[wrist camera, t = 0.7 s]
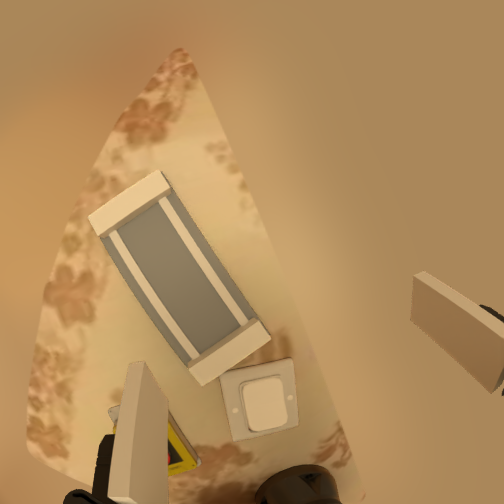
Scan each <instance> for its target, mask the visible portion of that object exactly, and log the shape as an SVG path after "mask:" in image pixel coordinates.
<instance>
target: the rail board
mask: <svg viewBox="0 0 504 504" xmlns="http://www.w3.org/2000/svg"><path fill="white" fill-rule="evenodd" d="M88 219H89V221H90V222H91V224H92V226H93V228H94V230H95V232H96V234H97V235H98V236H99V237H100V239H101V241H102V242H103V244H104V246H105V248H106V249H107V251H108V253H109V255H110V256H111V258H112V260H113V261H114V263H115V265H116V266H117V268H118V270H119V271H120V273H121V274H122V276H123V278H124V279H125V281H126V282H127V284H128V286H129V287H130V289H131V290H132V292H133V293H134V295H135V296H136V298H137V299H138V301H139V302H140V304H141V305H142V307H143V308H144V310H145V311H146V313H147V314H148V316H149V317H150V318H151V320H152V321H153V323H154V324H155V326H156V327H157V328H158V330H159V331H160V332H161V334H162V335H163V337H164V338H165V339H166V341H167V342H168V343H169V345H170V346H171V347H172V349H173V350H174V351H175V353H176V354H177V355H178V356H179V358H180V359H181V360H182V362H183V363H184V364H185V365H186V367H187V368H188V371H189V372H190V373H191V374H192V376H193V377H194V378H195V379H196V380H197V382H198V383H199V384H200V385H201V386H202V387H203V386H204V385H206V384H207V383H209V382H210V381H212V380H213V379H215V378H216V377H218V376H219V375H221V374H222V373H224V372H225V371H227V370H228V369H230V368H231V367H233V366H234V365H236V364H237V363H239V362H240V361H241V360H243V359H244V358H246V357H247V356H249V355H250V354H251V353H253V352H254V351H256V350H257V349H258V348H260V347H261V346H263V345H264V344H265V343H267V342H268V341H269V340H271V337H270V336H269V335H270V333H269V332H268V331H267V329H266V328H265V326H264V325H263V324H262V322H261V321H260V319H259V318H258V316H257V315H256V313H255V312H254V311H253V309H252V308H251V306H250V305H249V303H248V302H247V300H246V299H245V298H244V296H243V295H242V293H241V292H240V290H239V289H238V287H237V286H236V284H235V283H234V281H233V280H232V278H231V277H230V276H229V274H228V273H227V271H226V270H225V268H224V267H223V265H222V264H221V262H220V261H219V259H218V258H217V256H216V255H215V253H214V252H213V250H212V249H211V247H210V246H209V244H208V243H207V241H206V240H205V238H204V237H203V235H202V233H201V232H200V230H199V229H198V227H197V226H196V224H195V223H194V221H193V220H192V218H191V217H190V215H189V213H188V212H187V210H186V209H185V207H184V206H183V204H182V203H181V201H180V199H179V198H178V196H177V195H176V193H175V192H174V190H173V188H172V187H171V185H170V184H169V182H168V181H167V179H166V177H165V176H164V174H163V173H162V172H160V170H159V169H157V170H156V171H154V172H153V173H151V174H149V175H148V176H146V177H145V178H143V179H141V180H140V181H138V182H137V183H135V184H134V185H132V186H131V187H129V188H128V189H126V190H125V191H123V192H122V193H120V194H119V195H117V196H116V197H114V198H113V199H111V200H110V201H108V202H107V203H106V204H104V205H103V206H101V207H100V208H99V209H97V210H96V211H94V212H93V213H92V214H90V215H89V216H88Z"/></svg>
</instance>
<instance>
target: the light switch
mask: <svg viewBox="0 0 504 504" xmlns="http://www.w3.org/2000/svg"><path fill="white" fill-rule="evenodd" d="M219 380H220V385H221V390H222V395H223V400H224V404H225V409H226V414H227V418H228V423H229V427H230V432H231V436H232V440H233V442H237V441H242V440H247V439H251V438H256V437H260V436H264V435H268V434H272V433H276V432H280V431H284V430H287V429H291V428H294V427H298V426H299V416H298V404H297V393H296V382H295V371H294V363H293V360H292V358H286V359H282V360H277V361H273V362H269V363H264V364H259V365H255V366H250V367H245V368H240V369H234V370H229V371H225V372H224V373H222V374H221V375H219ZM248 427H249V428H250V430H249V429H248Z"/></svg>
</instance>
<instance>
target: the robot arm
mask: <svg viewBox="0 0 504 504" xmlns="http://www.w3.org/2000/svg"><path fill="white" fill-rule="evenodd" d="M410 320H411V321H412V322H413V323H414V324H415V325H417V326H418V327H419V328H420V329H421V330H422V331H423V332H425V333H426V334H427V335H428V336H429V337H430V338H431V339H432V340H434V341H435V342H436V343H437V344H438V345H439V346H440V347H442V348H443V349H444V350H445V351H446V352H447V353H448V354H449V355H450V356H451V357H452V358H454V359H455V360H456V361H457V362H458V363H459V364H460V365H461V366H462V367H463V368H465V370H467V371H468V372H469V373H470V374H471V375H472V376H473V377H474V378H475V379H476V380H477V381H478V382H479V383H480V384H481V385H482V386H483V387H484V388H486V390H487V391H488V392H489V393H491V394H492V393H493V392H494V391H495V390H496V389H497V388H498V387H499V386H500V385H501V384H502V382H503V380H504V317H503V316H502V315H500V314H498V312H496V311H494V310H493V309H492V308H490V307H486V306H484V305H479V306H478V305H477V304H475V303H474V302H472V301H471V300H469V299H468V298H466V297H465V296H463V295H461V294H460V293H459V292H457V291H455V290H454V289H452V288H451V287H449V286H447V285H446V284H444V283H443V282H441V281H439V280H438V279H436V278H435V277H433V276H431V275H430V274H428V273H427V272H425V271H423V272H421V273H418V274H416V275H414V276H413V292H412V308H411V319H410ZM503 395H504V389H503V391H502V396H503ZM97 456H98V458H97V461H96V465H97V466H96V467H95V474H94V481H93V488H92V494H90V493H89V492H87V491H85V490H82V489H76V490H73V491H71V492H69V493H68V494H67V495H66V497H65V499H64V501H63V504H169V492H168V399H167V398H166V396H165V395H164V393H163V391H162V390H161V388H160V387H159V385H158V383H157V382H156V380H155V378H154V377H153V375H152V373H151V371H150V370H149V368H148V366H147V365H146V363H145V361H141V362H136V363H131V364H129V368H128V372H127V376H126V381H125V386H124V390H123V395H122V400H121V405H120V411H119V416H118V422H117V428H116V434H109V435H105V436H104V438H103V440H102V441H101V443H100V445H99V450H98V455H97ZM255 503H256V504H342V503H341V502H340V499H339V495H338V490H337V485H336V482H335V479H334V478H333V476H332V475H331V474H330V473H329V471H328V470H326V469H325V468H323V467H320V466H316V465H302V466H296V467H293V468H289V469H287V470H284V471H282V472H280V473H278V474H276V475H274V476H273V477H271V478H270V479H268V480H267V481H266V482H265V483H264V484H263V485H262V486H261V487H260V488H259V490H258V491H257V494H256V497H255Z"/></svg>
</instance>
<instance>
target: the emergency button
mask: <svg viewBox="0 0 504 504" xmlns="http://www.w3.org/2000/svg"><path fill="white" fill-rule="evenodd" d="M119 411H120V405H118V406H115V407H111V408H110V409H109V410H108V414H109V416H110V418H111V419H112V421H113V422H114V427H113V433H114V434H116V428H117V422H118V416H119ZM201 463H202V462H201V459H200V458H199V456H198V455H197V454H196V452H195V451H194V449H193V448H192V446H191V445H190V443H189V442H188V440H187V439H186V437H185V436H184V434H183V433H182V431H181V429H180V428H179V426H178V425H177V423H176V422H175V420H174V418H173V417H172V415H171V413H170V412H169V410H168V476H172V475H175V474H179V473H183V472H186V471H189V470H193V469H195V468H196V467H197V466H200V465H201Z"/></svg>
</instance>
